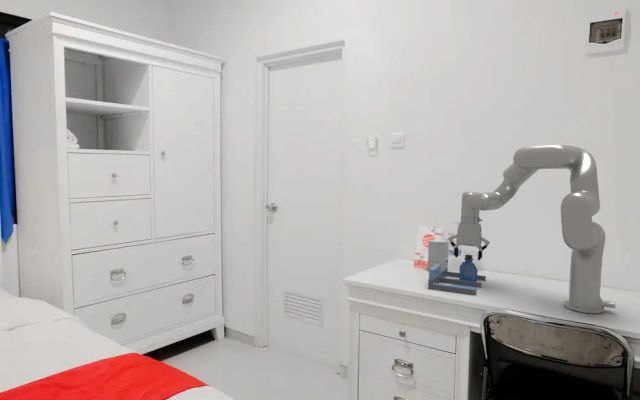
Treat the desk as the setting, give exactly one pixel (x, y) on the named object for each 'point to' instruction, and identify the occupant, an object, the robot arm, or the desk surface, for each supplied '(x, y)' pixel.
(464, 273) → the perfume bottle
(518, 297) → the desk surface
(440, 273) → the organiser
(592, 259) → the robot arm
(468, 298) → the desk surface
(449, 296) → the desk surface
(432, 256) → the skincare box
